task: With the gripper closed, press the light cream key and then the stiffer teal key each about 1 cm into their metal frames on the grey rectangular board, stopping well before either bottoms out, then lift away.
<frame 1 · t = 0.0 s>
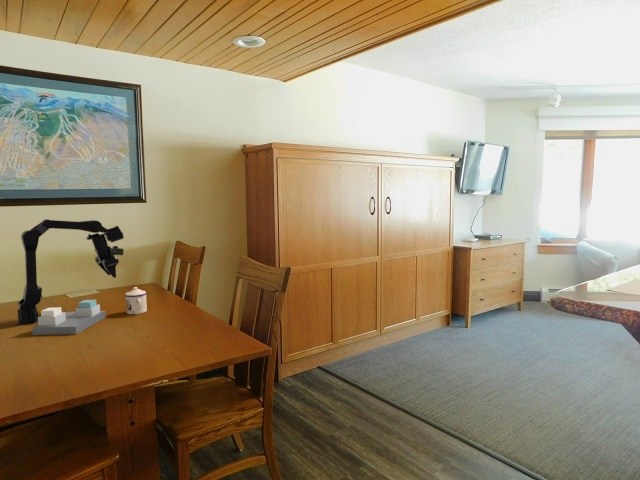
hand: (112, 276, 202), 15 cm above the table, tool pointing down, fingers open, 9 cm apart
teal key: (87, 304, 180), point 7 cm above the table, slide at 0.0 cm
grey rectangular board: (71, 325, 175), on the table
cream key: (51, 312, 168), point 7 cm above the table, slide at 0.0 cm
teacup with lid: (137, 313, 193), on the table
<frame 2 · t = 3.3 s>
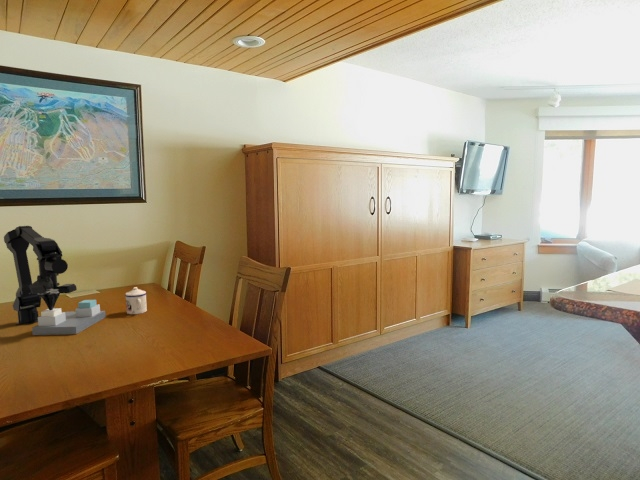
hand: (51, 309, 168), 8 cm above the table, tool pointing down, fingers closed, pressing on cream key
cream key: (51, 313, 168), point 7 cm above the table, slide at 0.4 cm, touching gripper
everything else where it was.
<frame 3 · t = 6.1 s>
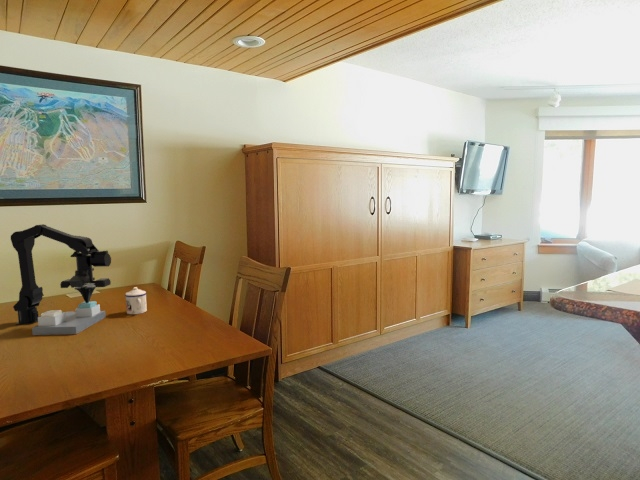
hand: (87, 302, 180), 8 cm above the table, tool pointing down, fingers closed, pressing on teal key
teal key: (87, 306, 180), point 7 cm above the table, slide at 0.7 cm, touching gripper
cream key: (51, 315, 168), point 6 cm above the table, slide at 1.1 cm
everything else where it was.
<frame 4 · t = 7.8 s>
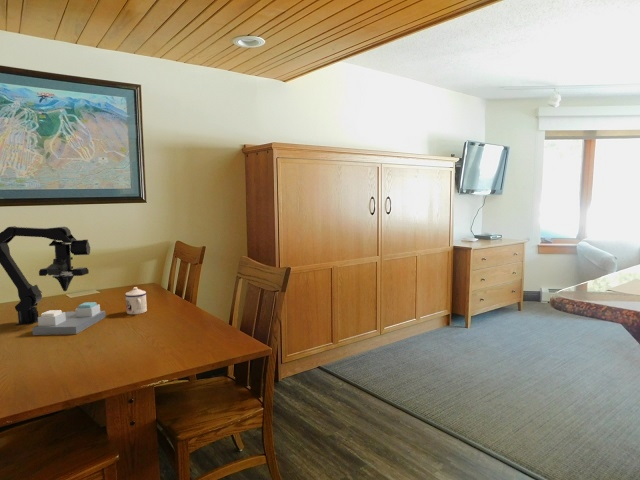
hand: (65, 291, 183), 13 cm above the table, tool pointing down, fingers closed
teal key: (87, 307, 180), point 6 cm above the table, slide at 1.1 cm
everything else where it was.
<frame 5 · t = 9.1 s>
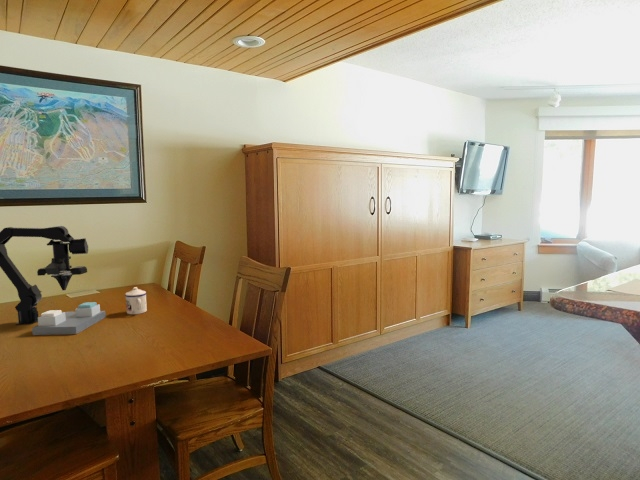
hand: (64, 290, 183), 13 cm above the table, tool pointing down, fingers closed
nothing on the table moved.
at the end: cream key slide at 1.1 cm; teal key slide at 1.1 cm; teacup with lid moved 0.2 cm from its start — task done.
